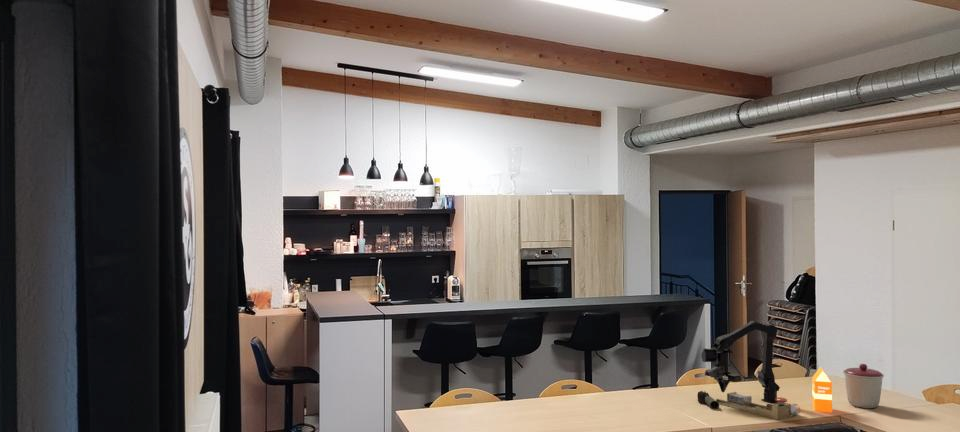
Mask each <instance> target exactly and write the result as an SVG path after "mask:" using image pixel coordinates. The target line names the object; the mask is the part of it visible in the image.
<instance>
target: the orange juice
mask: <svg viewBox="0 0 960 432" xmlns="http://www.w3.org/2000/svg"><path fill="white" fill-rule="evenodd" d="M811 380H812V384H811V385H812V386H811V387H812V390H811V391H812V396H811V397H812V399H811V400H812V408H813V410H814V411H815V412H822V413H833V382H832V381H831V379H830V378H829V377H828V376H827V374H826V373H825V372H824V369H822V367H821V366H820V367H819V368H818V370H817V371H816V372H815V374H814V375H813V376H812V377H811Z"/></svg>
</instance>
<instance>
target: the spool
mask: <svg viewBox="0 0 960 432" xmlns="http://www.w3.org/2000/svg"><path fill="white" fill-rule="evenodd" d="M726 394H727V395H726V401H729V402H732V403H736V404H740V405H743V406H747V407H752V403H753V402H752V400H753V398H752V397H753V396H752V395H745V394H744V395H743V394H740V393H737V391H732V392H728V393H726Z"/></svg>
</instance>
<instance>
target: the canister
mask: <svg viewBox="0 0 960 432" xmlns="http://www.w3.org/2000/svg"><path fill="white" fill-rule="evenodd" d="M842 373H843V374H844V380H845V381H844V383H845V389H846V395H847V400H848V403H849V404H850V405H852V406H853V407H856V408H863V409H876V408H877V407H878V406H879V405H880V402H881V394H882V387H883V378H884V377H885V374H884V373H882V372H880V371H879V370H876V369H873V368H868V365H867V364H866V363H860V364H859V365H858V367H849V368H846V369H844V370H842Z"/></svg>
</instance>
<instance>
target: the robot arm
mask: <svg viewBox="0 0 960 432" xmlns="http://www.w3.org/2000/svg"><path fill="white" fill-rule="evenodd" d="M755 330H756V331H760V334H761V338H762V341H763V342H762V343H763V344H762V345H763V346H762V367H761V370H758V371H757V378H756V379H757V380H758V382H759V384H761V387H762V388H763V398H761V399H760V400H761V401H762V400H763V402H766V401H767V403H770V402H771V403H770V404H774V403H778V401H776V398H778V392H779V390H780V388H781V387H780V386H779V385H778V383H776V380H775V377H776V376H775V374H774V372H773V360H774V359H773V358H774V357H773V354H774V342H775V340H776V338H777V334H778V328H777V326H776V325H773V324H771V323H767V322H764V323H761V322H757V321H754V320H750V321H749V322H747V323H745V324H744V325H742V326H741V327H739V328H737V329H735V330H733V331H732V332H730V333H725V334H724V335H720V336H718V337H716V338H715V342H714V344H713V345H712V346H711V347H710V348H702V349H703V350H702V352H701V361H702V362H703V363H715V364H714V367H712V368H710V369H709V368H708V369H706V370H705V371H704V376H706V377H710V378H713V379H714V380H716V382H717V383H718V386H719V388H720V392H721V393H725V392H726V390H727V387H728V385H729V384H730V382H731V383H737V382H741V381H743V380H742V376H741V375H740V374H736V373H733V374H731V371H730V367H731V363H730V358H729V357H730V356H729V354H734V352H733V351H732V350H731V347H732V346H733V345H734V343H735V342H737V341H738V340H740V339H741V338H743V337H745V336H746V335H748V334H749V333H751V332H754V331H755Z"/></svg>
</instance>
